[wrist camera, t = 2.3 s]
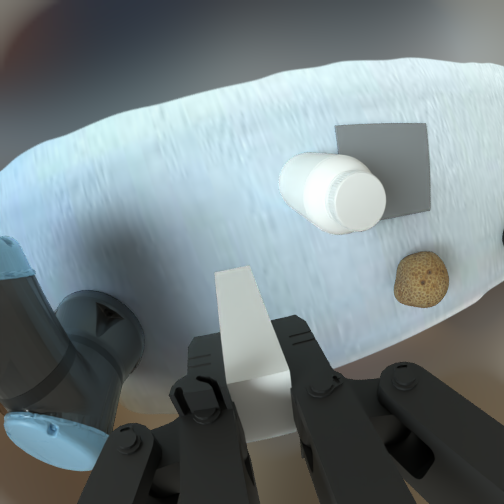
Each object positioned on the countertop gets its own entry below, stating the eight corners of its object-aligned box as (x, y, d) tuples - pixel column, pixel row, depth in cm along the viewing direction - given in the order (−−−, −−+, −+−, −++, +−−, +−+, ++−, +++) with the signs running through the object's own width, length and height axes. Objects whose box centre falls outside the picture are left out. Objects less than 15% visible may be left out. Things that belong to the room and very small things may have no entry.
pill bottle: (305, 139, 36) (363, 137, 22) (345, 181, 39) (412, 203, 25) (263, 183, 37) (299, 205, 23) (306, 223, 40) (357, 266, 26)
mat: (344, 226, 41) (346, 227, 41) (334, 125, 36) (335, 125, 36) (428, 209, 42) (430, 210, 42) (424, 123, 37) (425, 123, 37)
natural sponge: (429, 242, 45) (469, 263, 35) (417, 290, 47) (451, 317, 38) (389, 239, 43) (429, 263, 34) (377, 292, 46) (410, 323, 37)
